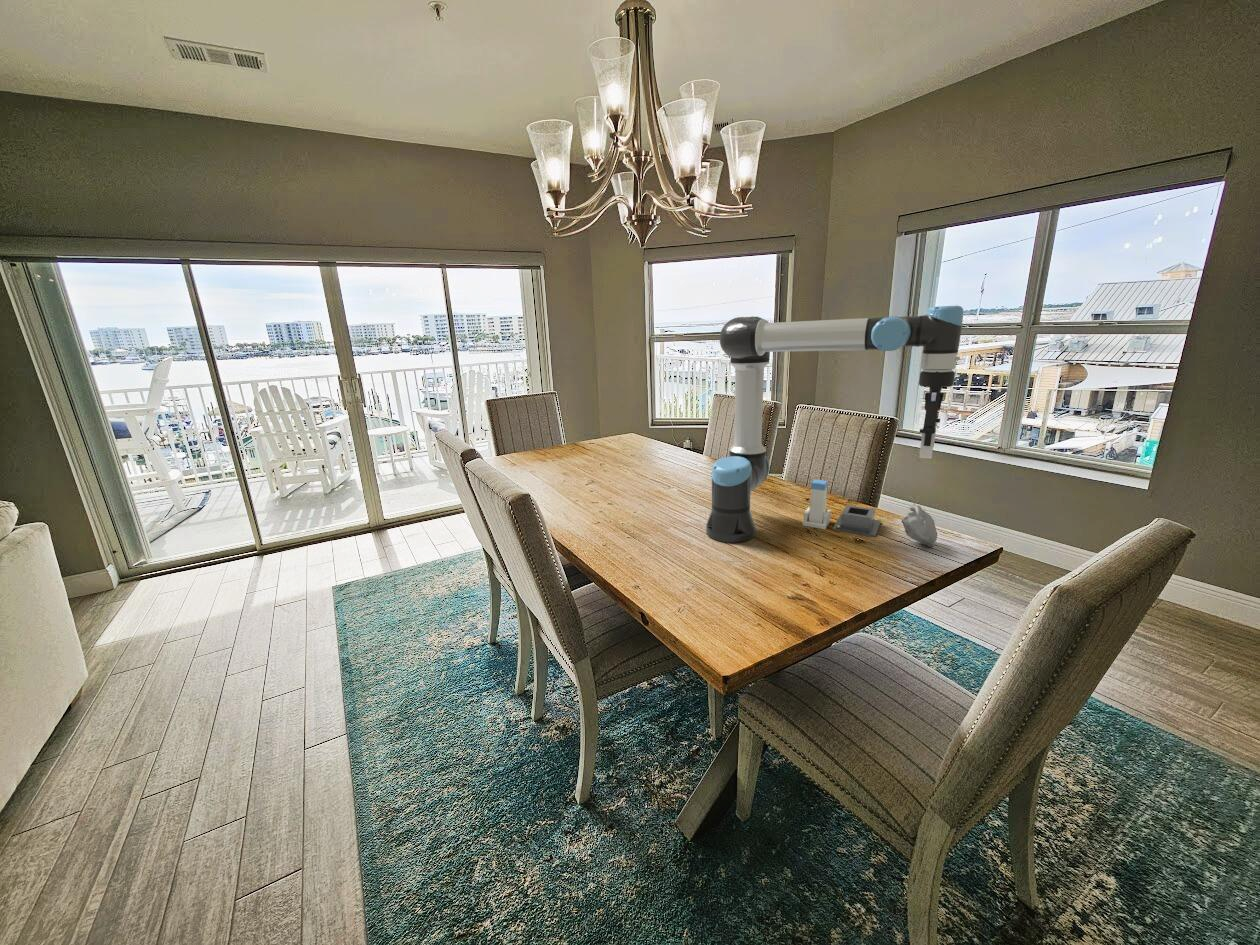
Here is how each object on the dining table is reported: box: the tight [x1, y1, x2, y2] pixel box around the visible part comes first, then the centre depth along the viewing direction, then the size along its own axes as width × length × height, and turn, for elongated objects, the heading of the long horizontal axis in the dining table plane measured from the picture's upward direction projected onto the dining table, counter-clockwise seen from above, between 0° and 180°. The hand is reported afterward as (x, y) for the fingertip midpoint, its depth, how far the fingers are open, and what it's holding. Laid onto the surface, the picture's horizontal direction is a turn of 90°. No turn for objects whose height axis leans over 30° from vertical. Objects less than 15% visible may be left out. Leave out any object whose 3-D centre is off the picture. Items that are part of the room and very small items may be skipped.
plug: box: [809, 478, 828, 524], centre depth 153 cm, size 4×4×14 cm
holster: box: [801, 506, 832, 530], centre depth 154 cm, size 7×7×4 cm
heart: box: [901, 504, 938, 548], centre depth 135 cm, size 10×10×12 cm
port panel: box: [832, 504, 882, 538], centre depth 150 cm, size 12×13×5 cm
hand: (926, 452), depth 127 cm, fingers open, 13 cm apart
